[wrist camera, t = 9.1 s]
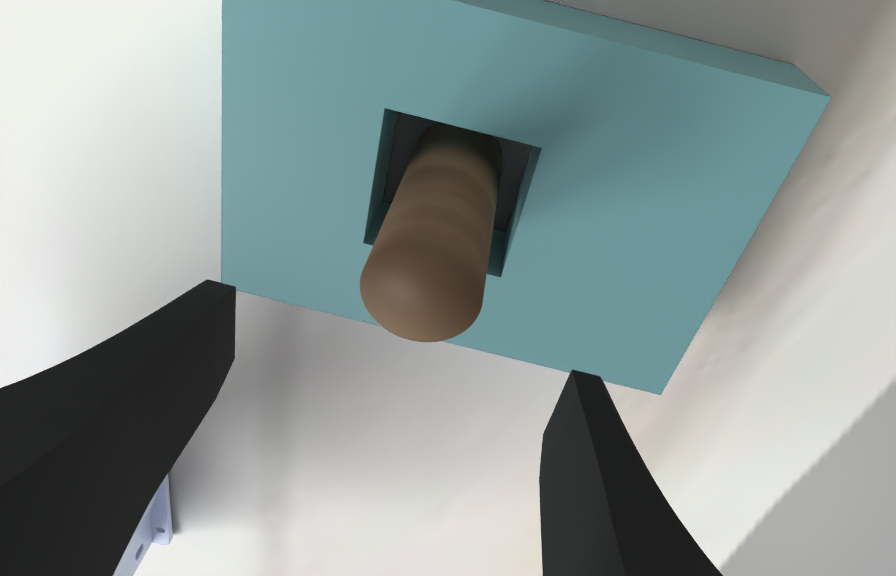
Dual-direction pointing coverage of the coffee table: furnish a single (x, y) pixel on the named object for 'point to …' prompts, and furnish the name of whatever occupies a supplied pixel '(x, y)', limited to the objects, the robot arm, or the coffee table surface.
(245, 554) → the coffee table surface
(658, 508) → the robot arm
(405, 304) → the peg
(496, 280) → the socket board
